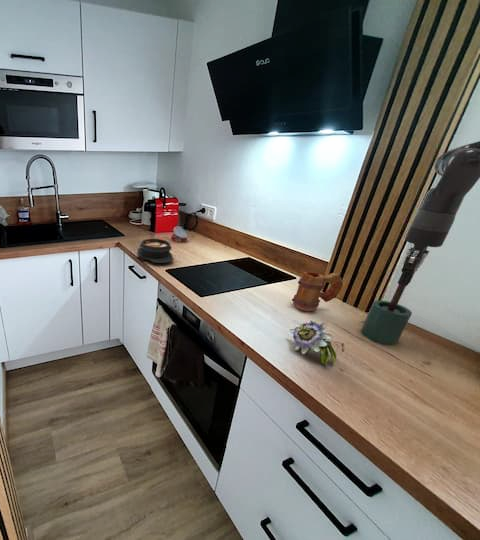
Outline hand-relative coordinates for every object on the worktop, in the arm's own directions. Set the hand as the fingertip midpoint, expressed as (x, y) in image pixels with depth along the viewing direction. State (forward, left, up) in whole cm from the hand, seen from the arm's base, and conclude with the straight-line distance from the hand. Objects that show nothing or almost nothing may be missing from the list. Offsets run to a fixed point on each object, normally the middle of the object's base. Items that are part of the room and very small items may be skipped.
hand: (403, 283), depth 85 cm
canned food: (+59, -93, -20) cm, 112 cm away
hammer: (0, 0, -13) cm, 13 cm away
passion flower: (+26, +12, -20) cm, 35 cm away
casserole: (+74, -58, -20) cm, 96 cm away
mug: (+14, -15, -20) cm, 28 cm away
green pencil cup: (0, 0, -19) cm, 19 cm away
